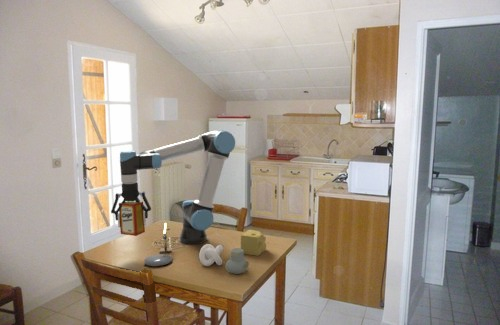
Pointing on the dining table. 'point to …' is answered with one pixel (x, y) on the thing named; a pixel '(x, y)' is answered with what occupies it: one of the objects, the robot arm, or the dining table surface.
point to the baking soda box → (131, 218)
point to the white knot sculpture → (210, 255)
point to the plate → (158, 260)
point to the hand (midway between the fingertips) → (132, 225)
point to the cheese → (253, 242)
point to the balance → (165, 241)
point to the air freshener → (237, 262)
